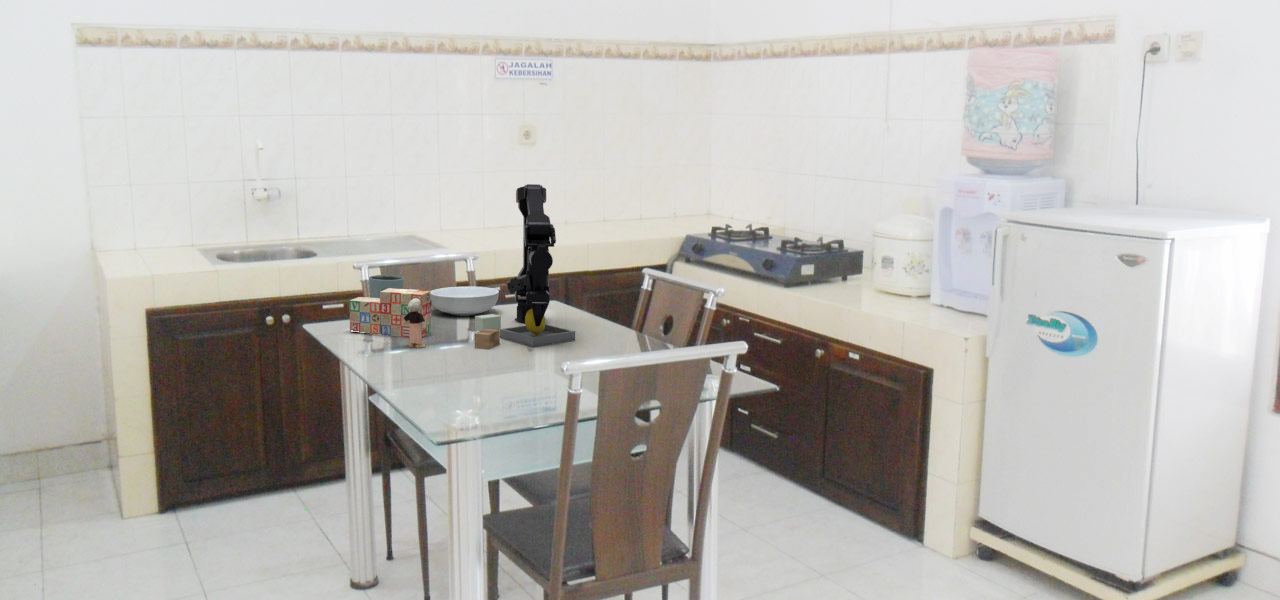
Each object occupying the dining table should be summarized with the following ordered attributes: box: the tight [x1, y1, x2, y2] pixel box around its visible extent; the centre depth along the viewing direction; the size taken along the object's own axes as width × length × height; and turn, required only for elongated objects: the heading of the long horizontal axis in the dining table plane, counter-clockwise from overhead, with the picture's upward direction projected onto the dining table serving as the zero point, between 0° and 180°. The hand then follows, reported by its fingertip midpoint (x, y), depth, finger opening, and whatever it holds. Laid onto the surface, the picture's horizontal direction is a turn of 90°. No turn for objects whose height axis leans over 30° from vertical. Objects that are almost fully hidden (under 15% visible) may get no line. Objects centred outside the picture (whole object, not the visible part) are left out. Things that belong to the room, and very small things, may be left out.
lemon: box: [524, 309, 547, 336], centre depth 294 cm, size 6×6×8 cm
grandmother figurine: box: [403, 298, 426, 349], centre depth 281 cm, size 8×4×13 cm, turn 71°
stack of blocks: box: [348, 288, 432, 339], centre depth 297 cm, size 21×6×12 cm, turn 78°
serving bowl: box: [430, 285, 500, 317], centre depth 330 cm, size 21×21×7 cm
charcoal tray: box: [500, 323, 576, 348], centre depth 295 cm, size 15×15×2 cm
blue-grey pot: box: [368, 274, 405, 298], centre depth 320 cm, size 10×10×12 cm
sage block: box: [474, 313, 502, 332], centre depth 306 cm, size 6×4×4 cm, turn 131°
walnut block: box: [474, 329, 501, 350], centre depth 285 cm, size 7×4×4 cm, turn 163°
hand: (537, 323), depth 294 cm, fingers open, 9 cm apart
